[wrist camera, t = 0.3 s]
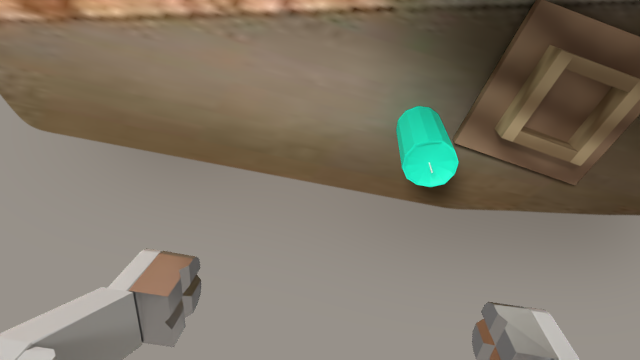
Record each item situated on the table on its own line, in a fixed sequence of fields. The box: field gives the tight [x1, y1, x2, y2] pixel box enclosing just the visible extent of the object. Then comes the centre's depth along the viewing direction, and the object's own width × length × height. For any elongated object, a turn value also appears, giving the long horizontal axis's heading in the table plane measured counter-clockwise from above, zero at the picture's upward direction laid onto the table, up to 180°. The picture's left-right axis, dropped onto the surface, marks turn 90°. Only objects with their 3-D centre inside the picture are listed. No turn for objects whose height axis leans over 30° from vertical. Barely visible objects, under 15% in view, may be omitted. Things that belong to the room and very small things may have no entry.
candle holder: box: [453, 0, 640, 185], centre depth 41 cm, size 18×18×4 cm
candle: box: [396, 106, 459, 187], centre depth 41 cm, size 6×6×12 cm
